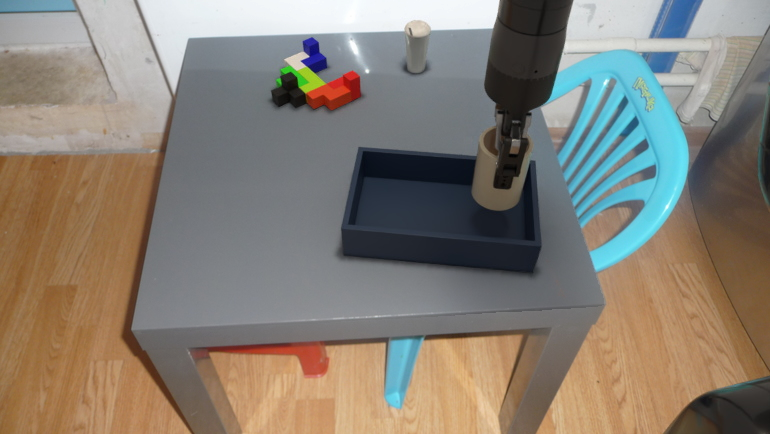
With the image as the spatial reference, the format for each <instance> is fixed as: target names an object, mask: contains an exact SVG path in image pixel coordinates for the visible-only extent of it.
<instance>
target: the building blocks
mask: <svg viewBox="0 0 770 434" xmlns="http://www.w3.org/2000/svg"><path fill="white" fill-rule="evenodd" d="M302 49H303V51H300V52H299V53H298V52H297V53H296V54H293V55H291V56H288V57H286V58H284V59H283V63H284V67H282V68H280V69H279V71H280V76H279V78H277V79H275V82H276V88H274V89H272V90H270V93H271V99H272V101H273V102H274V104H276V105H277V106H278V107H282V106H283V105H285V104H287V103H290V104H292V106H294V108H298V107H300V106H303V105H305V104H308V105H309V106H310V107H311V108H312V109H313V110H315V109H318V108H320V107H322V106H326V108H328V110H329V111H334V110H336V109H338V108H340V107H343V106H344V105H346V104H349V103H351V102H352V101H355V100H356V99H359V98H361V97H362V93H361V75H359V74H358V73H357V72H355V71H354V70H349V71H348V72H346V73H343V74H342V76H340V77H338V78H336V79H334V80H332V81H328V82H327V83H326V82H325V81H324V80H323V79H321V77H319V76H318V75H317V74H316V73H318V72H321V71H324V70H325V69H327V68H328V61H327V57H326V56H325V55H324V54H322V53H321V51H320V42H319V41H318V40H317V39H315V38H314V37H313V36H311V37H309V38H306V39H303V40H302Z"/></svg>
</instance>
